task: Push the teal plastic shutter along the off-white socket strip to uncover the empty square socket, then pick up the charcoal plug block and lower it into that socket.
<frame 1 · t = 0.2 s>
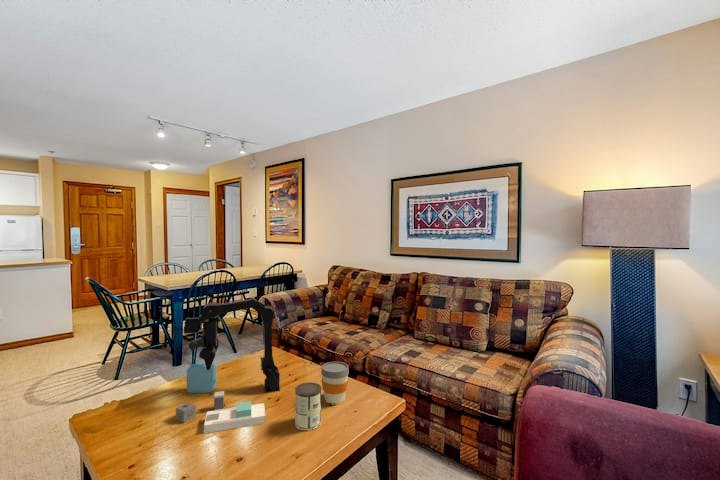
hand: (209, 365, 149), 14 cm above the table, fingers open, 9 cm apart
shutter: (243, 409, 132), point 4 cm above the table, slide at 0.0 cm
reusable coffee cup: (334, 399, 150), on the table
dice cube: (185, 419, 132), on the table
plug: (219, 408, 140), on the table
data package: (201, 390, 156), on the table
coffee can: (307, 423, 130), on the table
socket strip: (235, 421, 131), on the table
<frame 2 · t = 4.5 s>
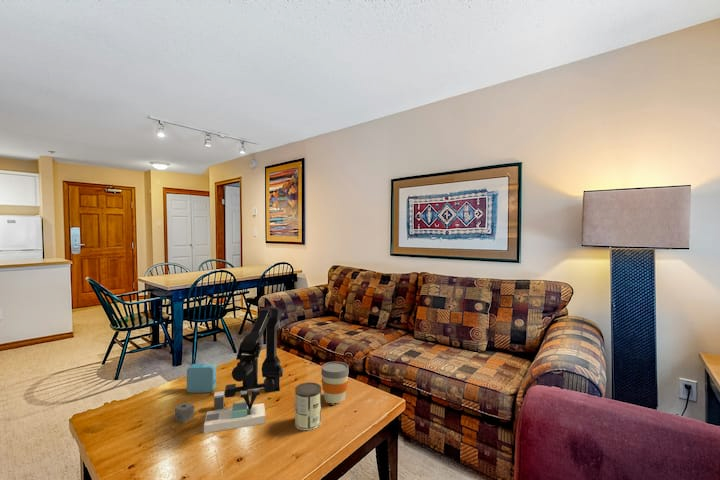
hand: (249, 408, 133), 4 cm above the table, fingers closed
shutter: (239, 409, 131), point 4 cm above the table, slide at 1.6 cm, touching gripper
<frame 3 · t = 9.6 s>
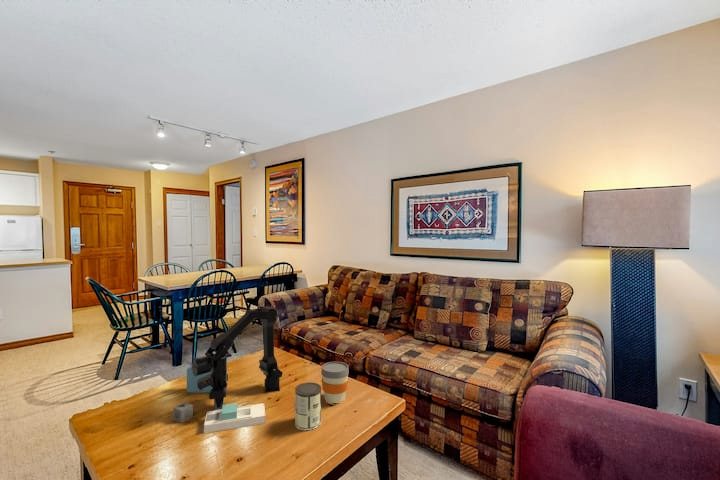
hand: (219, 405, 140), 2 cm above the table, fingers closed on plug, 4 cm apart
shutter: (229, 411, 130), point 4 cm above the table, slide at 5.3 cm
plug: (219, 408, 140), on the table, touching gripper
when the fingers open (3 cm above the table, at t = 13.1 s): plug drops 1 cm, resting on socket strip.
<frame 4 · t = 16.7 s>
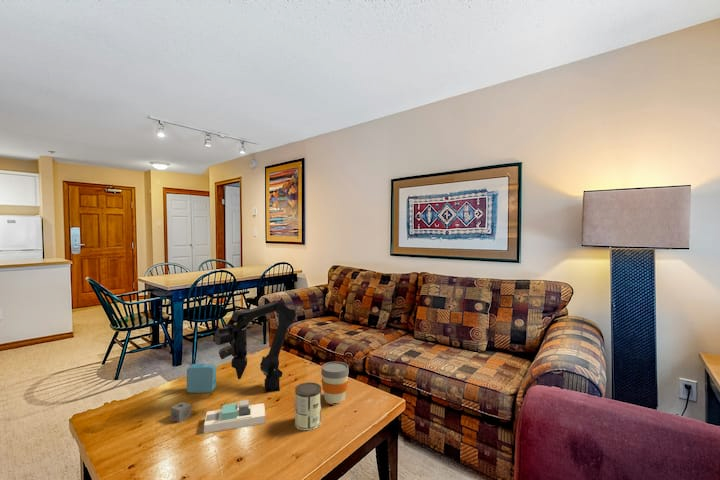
hand: (239, 374, 146), 12 cm above the table, fingers open, 9 cm apart
plug: (243, 418, 132), resting on socket strip
at the end: plug 0.1 cm from the target spot on the socket strip, point 0.5 cm above the socket strip's base; shutter slide at 5.3 cm; plug tilted 0° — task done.
